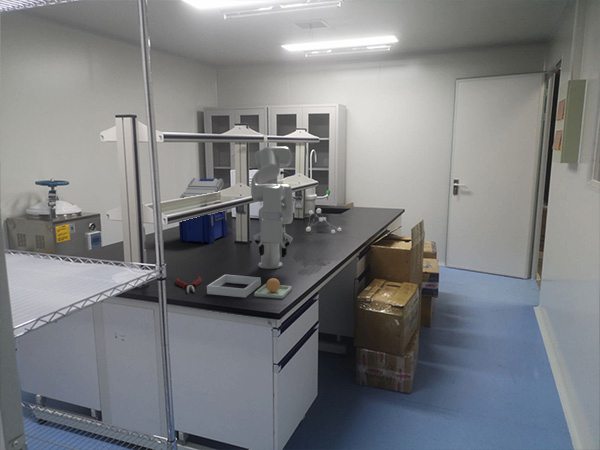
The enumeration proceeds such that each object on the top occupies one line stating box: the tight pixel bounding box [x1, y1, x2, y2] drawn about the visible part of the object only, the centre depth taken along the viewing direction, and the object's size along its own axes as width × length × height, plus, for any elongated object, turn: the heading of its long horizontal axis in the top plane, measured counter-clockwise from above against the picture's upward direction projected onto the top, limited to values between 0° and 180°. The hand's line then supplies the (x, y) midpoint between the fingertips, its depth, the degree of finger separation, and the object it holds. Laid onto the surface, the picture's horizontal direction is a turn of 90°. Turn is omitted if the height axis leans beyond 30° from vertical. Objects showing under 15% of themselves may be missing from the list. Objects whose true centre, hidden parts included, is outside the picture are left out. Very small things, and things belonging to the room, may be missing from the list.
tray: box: [253, 283, 293, 300], centre depth 193 cm, size 13×13×2 cm
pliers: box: [175, 276, 202, 294], centre depth 201 cm, size 12×20×3 cm, turn 17°
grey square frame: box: [206, 274, 262, 298], centre depth 198 cm, size 18×18×4 cm
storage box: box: [178, 177, 228, 245], centre depth 298 cm, size 29×23×40 cm
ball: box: [265, 277, 281, 292], centre depth 192 cm, size 6×6×6 cm
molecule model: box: [305, 207, 342, 235], centre depth 324 cm, size 14×25×18 cm, turn 76°
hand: (272, 255), depth 190 cm, fingers open, 9 cm apart
